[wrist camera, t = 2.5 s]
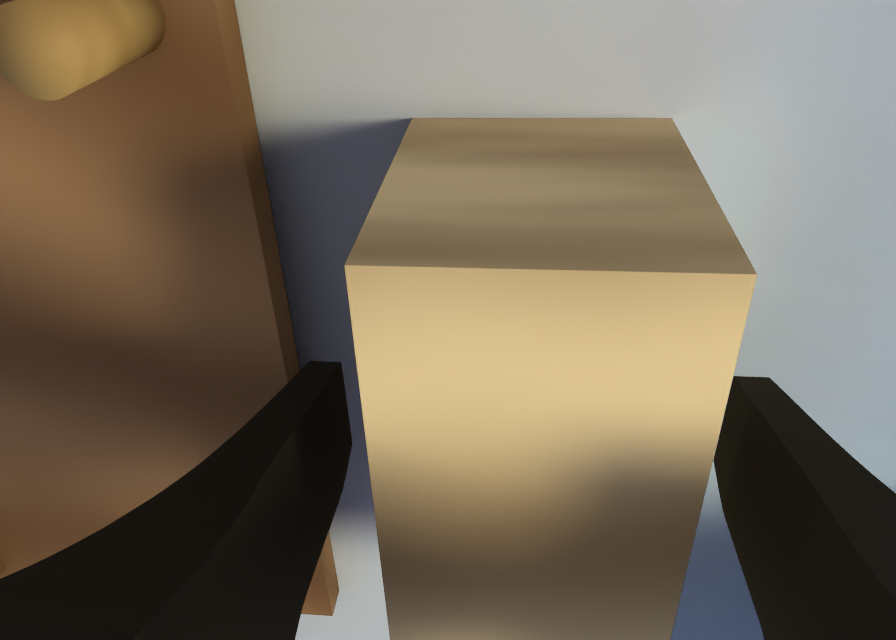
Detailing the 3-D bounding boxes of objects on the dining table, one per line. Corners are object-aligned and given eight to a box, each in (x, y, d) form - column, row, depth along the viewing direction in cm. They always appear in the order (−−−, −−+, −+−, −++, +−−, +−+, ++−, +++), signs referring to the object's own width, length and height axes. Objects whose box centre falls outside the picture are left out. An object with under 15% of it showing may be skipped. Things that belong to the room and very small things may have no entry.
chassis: (339, 590, 20) (307, 709, 17) (-29, 565, 21) (-114, 673, 18) (217, -90, 11) (110, -73, 8) (-413, -72, 12) (-700, -51, 9)
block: (613, 520, 17) (642, 757, 13) (434, 510, 18) (402, 736, 13) (670, 115, 12) (756, 275, 7) (413, 116, 12) (344, 264, 8)
